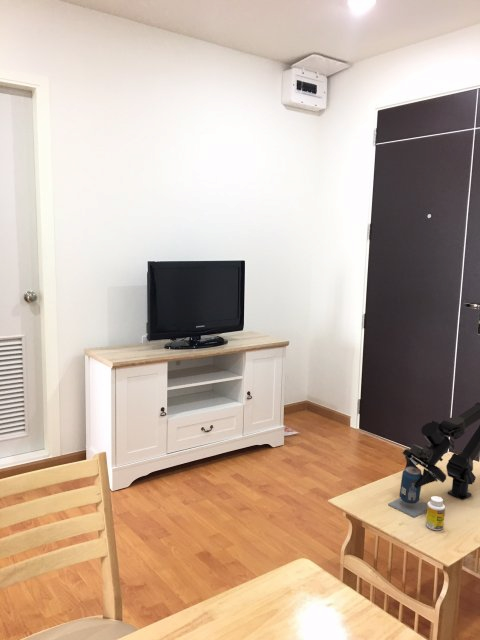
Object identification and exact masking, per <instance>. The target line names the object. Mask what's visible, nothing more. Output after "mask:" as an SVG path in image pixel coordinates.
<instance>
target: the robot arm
mask: <svg viewBox="0 0 480 640" xmlns="http://www.w3.org/2000/svg"><path fill="white" fill-rule="evenodd" d="M478 421H480V401H478V402H476V403H475V404H474V405H473V406H472V407H470V408H468V409H467V410H465V411H464V412H462V413H461V414H459V415H458V416H456V417H455V416H453V417H448V418H446V419H443V420H442V421H441V422H439V421H436V420H434V419H433V420H431V422H427V423H425V424H424V425H422V427H421V430H420V432H421V434H422V435H423V436H424V437H425V440H427V441H428V443H430V444H429V445H424V446H423V447H422V446H419V445H417V444H414V443H412V444H411V447H410V448H406V449H404V450H403V452H402V455H404V459H405V462H406V464H405V467H407V466H413V467H417V468H419V467H418V466H417V465H419V466H420V467H423V471H422V476H421V477H420V478H419V480H418V481H417V482H416V484H415V485H414V487H415V488H418V487H420V486H421V487H423V486H425V485H427V484H430V483H434V482H438V481H439V482H440V483H442V484H443V483H444V482H445V481H446V480H447V476H448V477H449V478H451V479H452V483H451V490H448V491H447V494H448V495H450V496H454V497H456V498H458V499H460V500H466V499H467V498H469V497H471V496H472V493H471V492H469V485H471V486H472V485H474V484H473V483H475V481H476V476H475V474H474V473H473V470H474V460H475V458H476V457H477V455H478V454H479V452H480V424H479V425H478V426H477V428H476V429H475V431H474V432H473V434H472V436H471V437H470V438H469V439H468V441H467V443H466V444H465V446H464V447H463V449H462V450H461V452H460V453H456V452H455V453H452V455H451V457H450V458H449V460H448V462H447V464H446V466H445V467H446V473H447V475H446V474H445V472H444V471H443V470H442V469H441V468H440V467H438V466H437V463H438V462H439V461H440V462H442V461H443V460H444V459H443V456H444V455H445V453H447V452H448V450H449V449H450V448H451V449H452V450H454V449H455V444H454V443H455V441H453V440H458V439H460V438H461V437H462V436H463V435H464V434H465V433H466V429H467V428H468V427H470V426H472V425H473V424H474V423H476V422H478ZM449 438H451V439H449ZM452 439H453V440H452Z"/></svg>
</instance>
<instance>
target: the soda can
mask: <svg viewBox="0 0 480 640" xmlns="http://www.w3.org/2000/svg"><path fill="white" fill-rule="evenodd" d="M417 467H418V466H417ZM417 467H413V466H407V467H406V466H405V468H404V470H403V471H402V475H401V482H400V487H399V498H401V500H402V501H403V502H405V503H408V504H415V503H417V502H418V501H420V496H421V491H422V486H420V487H418V488H415V487H414V485H415V484H416V482H417V481H418V480H419V478H420V477H421V476H422V475H423V472H422V470H421V469H420V468H419V467H418V468H417Z"/></svg>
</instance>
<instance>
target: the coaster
mask: <svg viewBox="0 0 480 640" xmlns="http://www.w3.org/2000/svg"><path fill="white" fill-rule="evenodd" d="M387 505H388V507H391V508H393V509H396V510H397V511H399V512H401V513H403V514H405V515H406V516H407V515H408V516H409V517H411V518H413V519H416V518H417V517H419V516H420V515H423V514H425V513H427V507H428V504H426V503H424V502H422V501H420V500H419V501H418V502H417V503H415V504H408V503H405V502H403V501H402V500H401V497H399V498H397V499H394V500H393V501H391V502H389V503H387Z"/></svg>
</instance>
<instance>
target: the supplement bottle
mask: <svg viewBox="0 0 480 640" xmlns="http://www.w3.org/2000/svg"><path fill="white" fill-rule="evenodd" d="M427 505H428V507H427V511H426V521H425V525H426V527H427V528H428V529H430V530H433V531H441V530H442V529H444V524H445V523H444V521H445V514H446V512H445V511H446V505H445V504H444V499H443V498H442V497H441V496H437V495H434V496H433V495H432V496H431V497H430V501H428V502H427Z"/></svg>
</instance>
